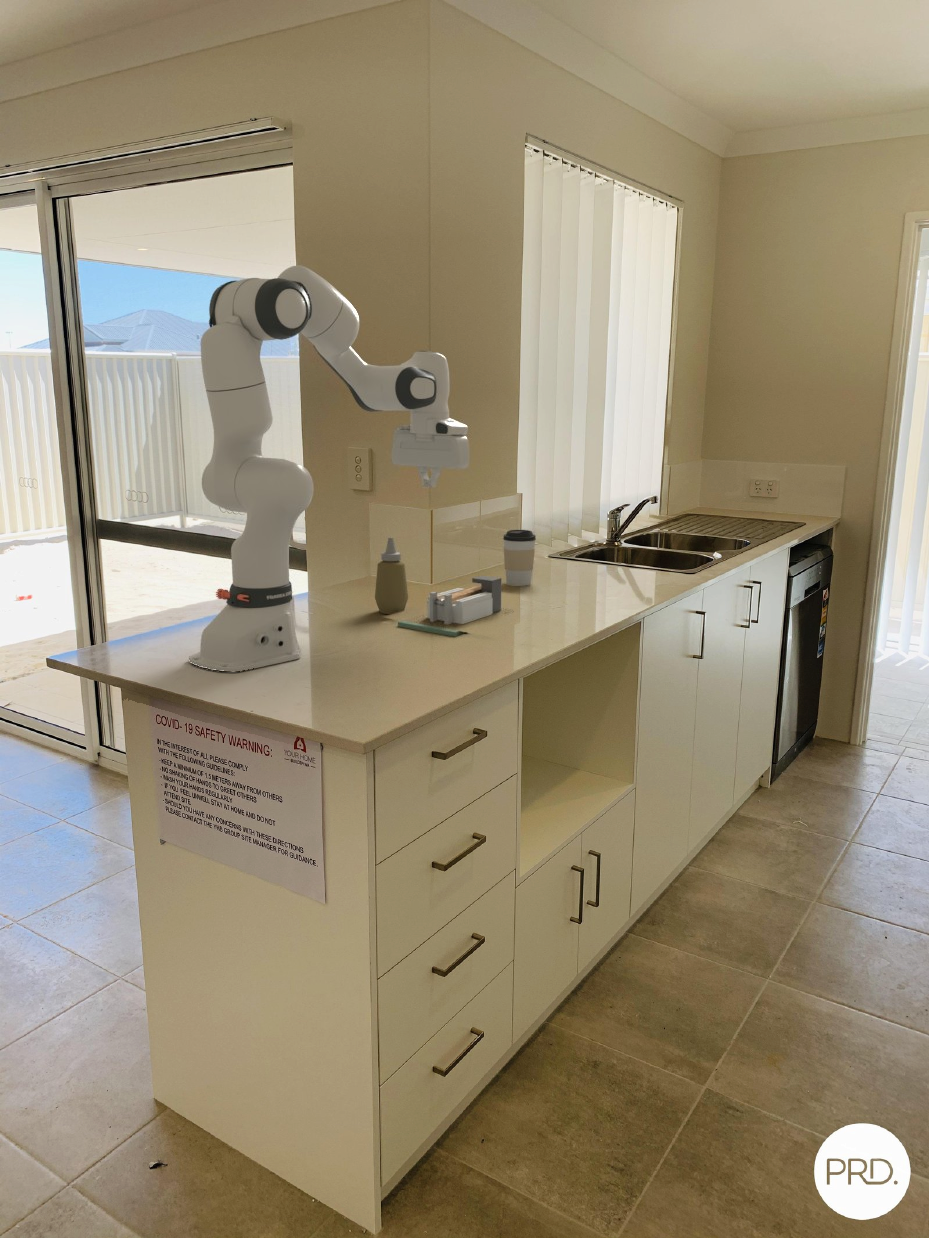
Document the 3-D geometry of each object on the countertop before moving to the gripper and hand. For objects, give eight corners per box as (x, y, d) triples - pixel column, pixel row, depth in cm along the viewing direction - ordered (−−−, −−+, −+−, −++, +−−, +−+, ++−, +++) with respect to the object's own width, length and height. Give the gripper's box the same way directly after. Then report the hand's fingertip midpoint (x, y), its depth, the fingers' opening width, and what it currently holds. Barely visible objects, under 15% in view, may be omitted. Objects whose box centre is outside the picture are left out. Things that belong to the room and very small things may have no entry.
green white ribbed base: (455, 636, 203) (455, 602, 201) (397, 626, 212) (397, 593, 210) (518, 614, 224) (519, 583, 222) (464, 605, 233) (464, 575, 231)
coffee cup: (496, 581, 263) (497, 528, 259) (525, 579, 266) (526, 526, 263) (511, 587, 255) (512, 533, 251) (540, 585, 258) (542, 531, 255)
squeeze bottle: (368, 613, 224) (367, 538, 220) (386, 607, 231) (385, 534, 227) (397, 617, 220) (396, 541, 216) (414, 610, 227) (414, 536, 223)
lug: (491, 613, 220) (492, 580, 219) (472, 610, 224) (472, 578, 222) (500, 610, 224) (501, 578, 222) (481, 607, 227) (481, 575, 225)
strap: (443, 606, 210) (443, 600, 209) (434, 605, 211) (434, 599, 211) (486, 592, 223) (486, 586, 223) (477, 591, 224) (477, 585, 224)
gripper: (385, 424, 216) (385, 485, 220) (457, 427, 205) (456, 490, 208) (402, 424, 221) (402, 483, 225) (473, 426, 210) (472, 489, 213)
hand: (429, 487), depth 216 cm, fingers closed
